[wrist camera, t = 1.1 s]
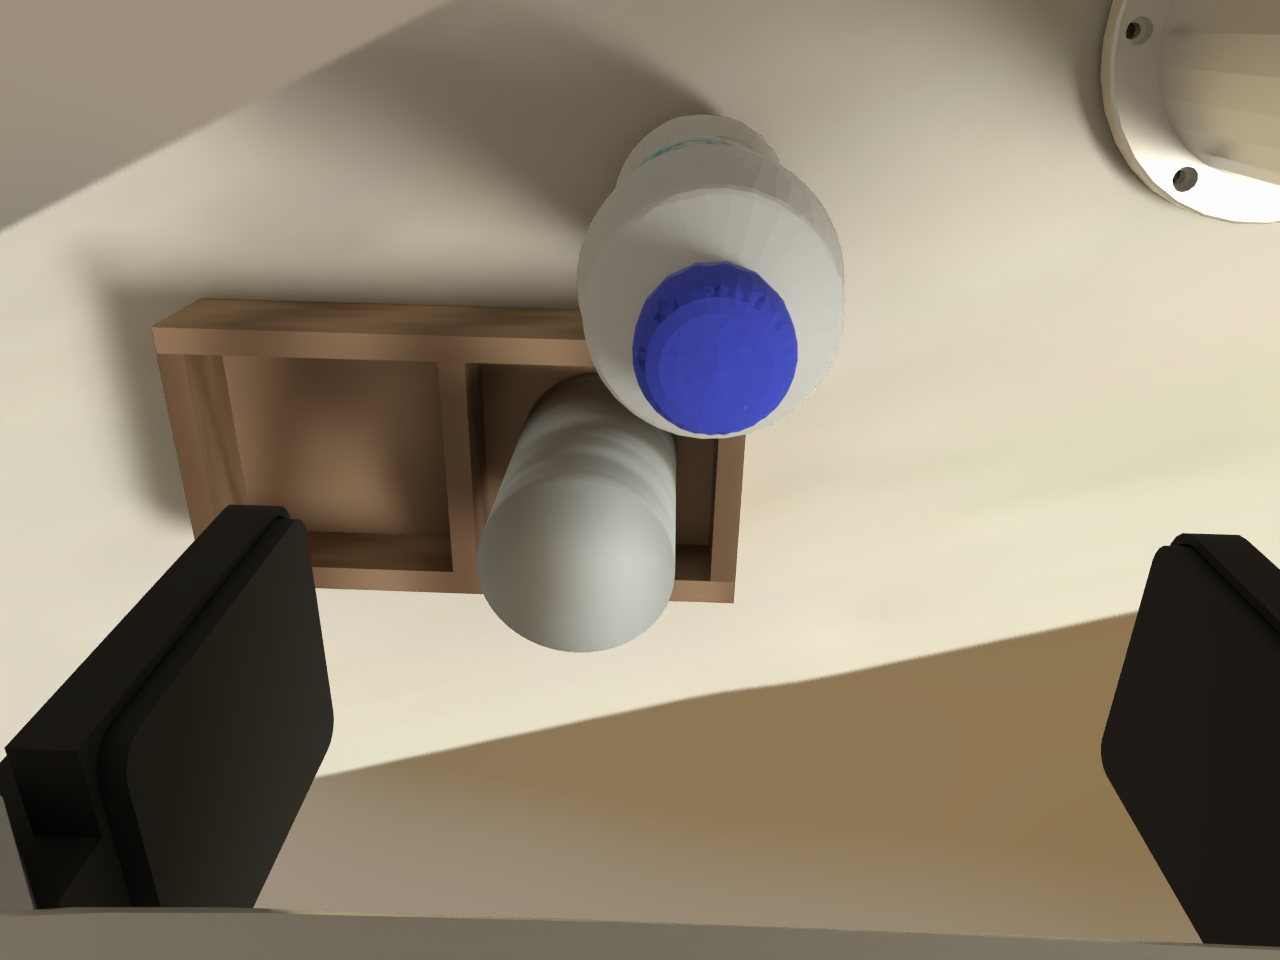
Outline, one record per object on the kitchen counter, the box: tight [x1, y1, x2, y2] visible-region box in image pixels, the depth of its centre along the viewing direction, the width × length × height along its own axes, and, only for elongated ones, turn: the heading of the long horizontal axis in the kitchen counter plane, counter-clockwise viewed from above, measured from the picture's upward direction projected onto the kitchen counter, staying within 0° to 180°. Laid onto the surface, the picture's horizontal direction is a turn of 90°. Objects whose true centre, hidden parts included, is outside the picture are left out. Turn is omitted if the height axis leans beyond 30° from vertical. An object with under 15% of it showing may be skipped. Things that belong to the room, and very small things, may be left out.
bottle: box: [577, 114, 845, 439], centre depth 28 cm, size 7×7×20 cm
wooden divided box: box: [151, 299, 746, 652], centre depth 36 cm, size 22×11×11 cm, turn 89°
